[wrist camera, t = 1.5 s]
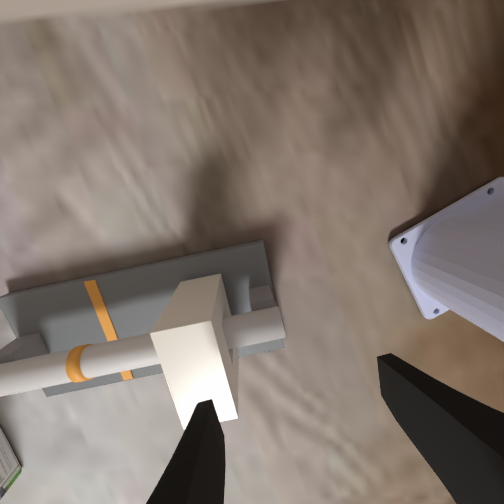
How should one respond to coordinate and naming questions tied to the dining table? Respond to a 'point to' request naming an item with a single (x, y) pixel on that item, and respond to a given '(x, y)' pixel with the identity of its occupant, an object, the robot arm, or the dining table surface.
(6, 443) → the syrup box
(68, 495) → the dining table surface
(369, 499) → the dining table surface
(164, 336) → the collar
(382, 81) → the dining table surface
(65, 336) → the pipe stand
